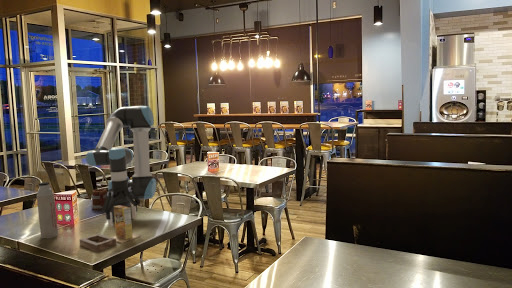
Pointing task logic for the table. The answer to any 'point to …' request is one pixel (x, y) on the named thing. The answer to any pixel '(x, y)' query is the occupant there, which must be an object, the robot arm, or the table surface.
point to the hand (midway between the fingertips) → (122, 222)
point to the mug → (98, 198)
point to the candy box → (123, 221)
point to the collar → (104, 241)
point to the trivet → (122, 240)
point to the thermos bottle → (47, 211)
